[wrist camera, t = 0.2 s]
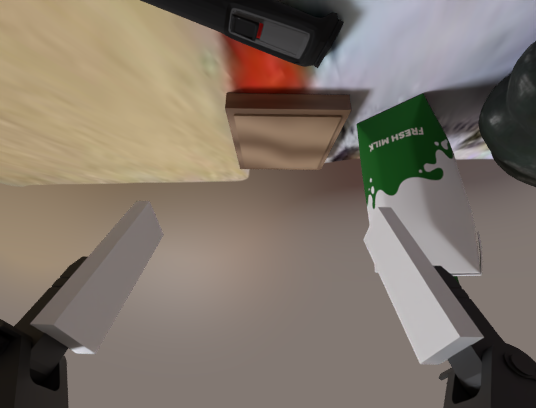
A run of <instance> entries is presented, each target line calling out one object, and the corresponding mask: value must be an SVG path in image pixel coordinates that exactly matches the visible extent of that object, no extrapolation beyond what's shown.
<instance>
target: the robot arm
mask: <svg viewBox="0 0 536 408" xmlns="http://www.w3.org/2000/svg"><path fill="white" fill-rule="evenodd" d="M163 235H164V234H163V232H162V229H161V227H160V225H159V222H158V220H157V218H156V215H155V213H154V210H153V208H152V206H151V203H150V202H149V201H136V202H135V203H134V204H133V206H132V207H131V208H130V209H129V210H128V211H127V213H126V214H125V215H124V216H123V217H122V218H121V219H120V221H119V222H118V223H117V224H116V225H115V226H114V228H113V229H112V230H111V231H110V232H109V233H108V235H107V236H106V237H105V238H104V239H103V240H102V241H101V243H100V244H99V245H98V246H97V247H96V248H95V250H94V251H93V252H92V253H91V254H90V255H89V256H88V257H81V258H80V259H79V260H77V261H76V262H74V263H73V264H72V265H70V266H69V267H68V268H67V269H66V271H65V272H64V273H63V274H62V275H61V276H60V278H59V279H58V280H56V281H55V283H54V284H53V285H52V287H51V288H49V289H48V290H47V291H46V292H45V294H44V295H43V296H42V297H41V298H40V299H39V300H38V301H37V302H36V303H35V304H34V306H33V307H32V308H31V309H30V310H29V311H28V312H27V313H26V314H25V315H24V317H23V318H22V319H21V320H20V321H19V322H18V323H17V324H16V325H15V326H14V327H13V326H12V325H10V324H8V323H6V322H5V321H3V320H1V319H0V408H68V388H67V363H66V358H65V356H64V354H65V352H66V350H67V349H68V348H69V349H71V350H72V351H74V352H75V353H81V354H96V352H97V350H98V348H99V347H100V345H101V343H102V342H103V340H104V338H105V336H106V334H107V333H108V331H109V329H110V328H111V326H112V324H113V322H114V321H115V319H116V317H117V315H118V313H119V311H120V310H121V308H122V307H123V305H124V303H125V301H126V300H127V298H128V296H129V294H130V293H131V291H132V289H133V287H134V286H135V284H136V282H137V280H138V279H139V277H140V275H141V273H142V272H143V270H144V268H145V266H146V265H147V263H148V261H149V259H150V258H151V256H152V254H153V252H154V251H155V249H156V247H157V246H158V244H159V242H160V240H161V238H162V237H163ZM364 242H365V244H366V247H367V249H368V251H369V253H370V255H371V257H372V260H373V262H374V264H375V266H376V268H377V271H378V273H379V275H380V277H381V279H382V282H383V283H384V286H385V288H386V290H387V293H388V295H389V297H390V299H391V301H392V304H393V305H394V308H395V310H396V312H397V314H398V317H399V319H400V321H401V323H402V325H403V328H404V330H405V332H406V334H407V336H408V339H409V341H410V343H411V345H412V347H413V350H414V352H415V354H416V356H417V358H418V360H419V363H420V364H438V365H439V364H441V363H442V362H444V361H446V360H448V361H449V363H450V364H451V366H452V368H450V369H448V370H446V371H445V372H443V373H441V374H440V376H439V379H440V380H443V379H445V378H447V377H448V382H447V388H446V395H445V402H444V408H536V362H535V361H533V359H531V358H530V357H529V356H528V355H527V354H526V353H524V352H523V351H521V350H520V349H518V348H516V347H514V346H512V345H510V344H506V343H505V342H504V341H503V340H502V338H501V337H500V336H499V335H498V334H497V332H496V331H495V330H494V328H493V327H492V326H491V325H490V323H489V322H488V321H487V319H486V318H485V317H484V315H483V314H482V313H481V312H480V310H479V309H478V308H477V306H476V305H475V304H474V303H473V301H472V300H471V299H469V296H468V295H467V293H466V292H465V291H464V290H463V289H462V288H461V286H460V284H459V283H458V282H457V280H456V279H455V278H454V277H453V275H451V274H450V273H449V272H448V271H447V270H445V269H444V268H443V267H442V266H433V265H432V264H431V262H430V261H429V259H428V258H427V257H426V255H425V254H424V253H423V251H422V250H421V248H420V247H419V246H418V244H417V243H416V241H415V240H414V239H413V237H412V236H411V234H410V233H409V232H408V230H407V229H406V227H405V226H404V225H403V223H402V222H401V220H400V219H399V218H398V216H397V215H396V213H395V212H394V211H393V209H392V208H391V207H378V208H377V210H376V212H375V215H374V217H373V219H372V221H371V224H370V226H369V229H368V231H367V233H366V235H365V238H364Z"/></svg>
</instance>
